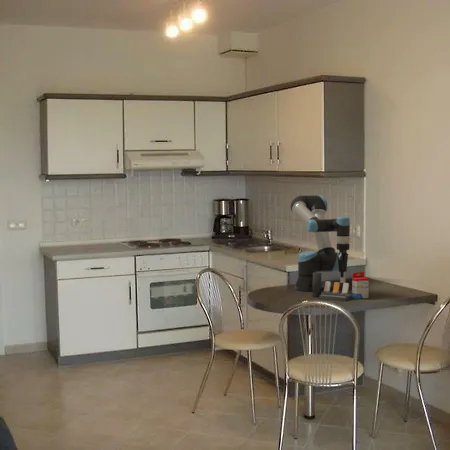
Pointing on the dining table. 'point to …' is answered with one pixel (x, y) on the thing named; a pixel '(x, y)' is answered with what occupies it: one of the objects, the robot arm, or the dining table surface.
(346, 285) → the paddle right
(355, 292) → the ink box
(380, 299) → the dining table surface
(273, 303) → the dining table surface
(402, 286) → the dining table surface
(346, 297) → the panel
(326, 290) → the paddle left
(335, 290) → the block
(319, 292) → the post
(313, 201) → the robot arm
